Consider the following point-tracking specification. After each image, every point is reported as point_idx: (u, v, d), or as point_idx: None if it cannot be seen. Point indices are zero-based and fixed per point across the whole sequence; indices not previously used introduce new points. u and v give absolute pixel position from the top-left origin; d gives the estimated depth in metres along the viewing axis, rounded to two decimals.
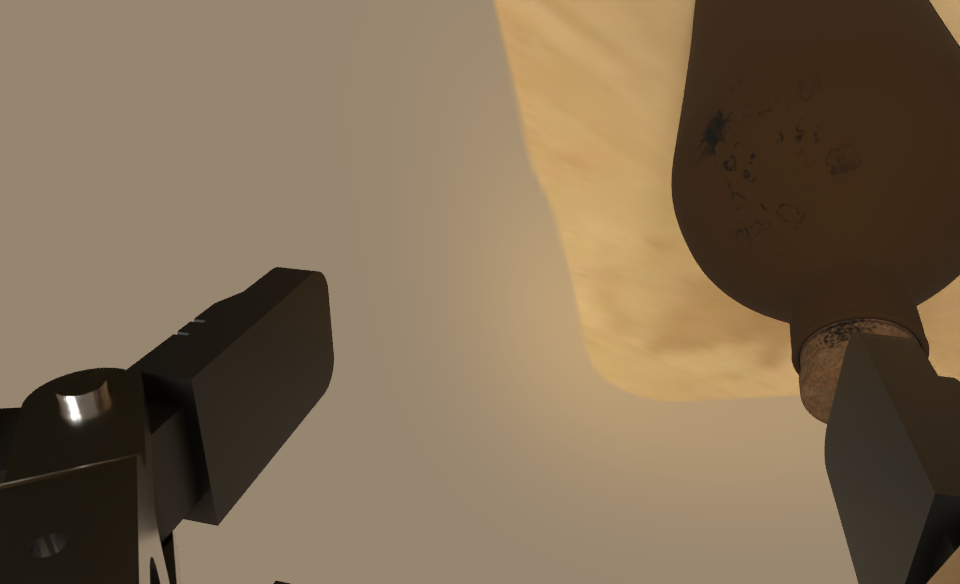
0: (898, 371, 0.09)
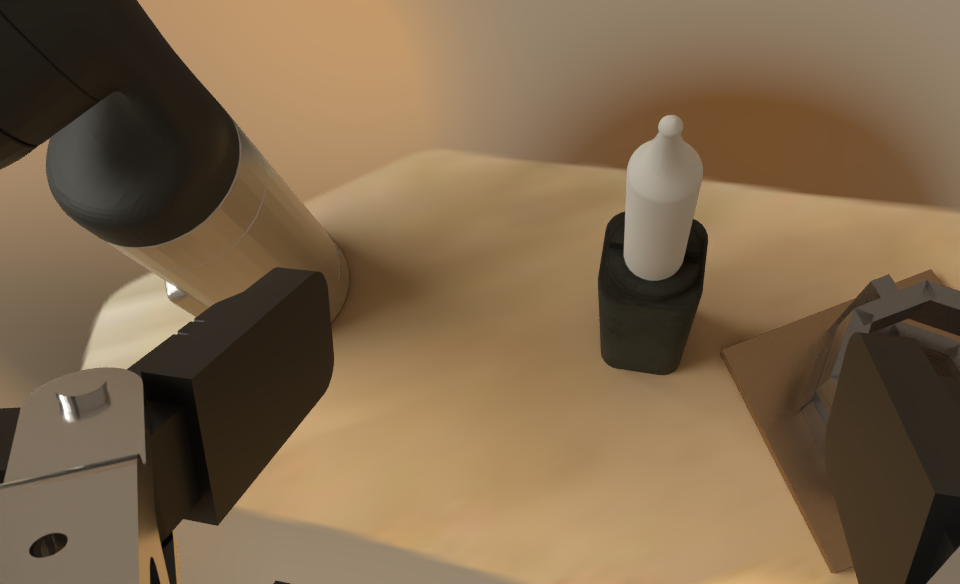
0: (899, 371, 0.09)
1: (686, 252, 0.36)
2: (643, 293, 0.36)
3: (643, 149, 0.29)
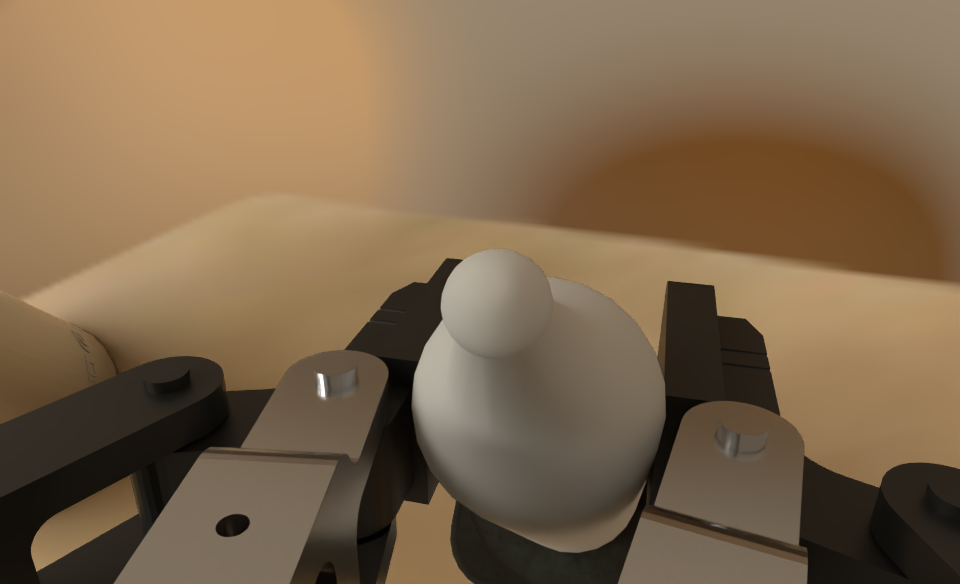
0: (685, 309, 0.10)
1: (645, 479, 0.16)
2: None
3: None
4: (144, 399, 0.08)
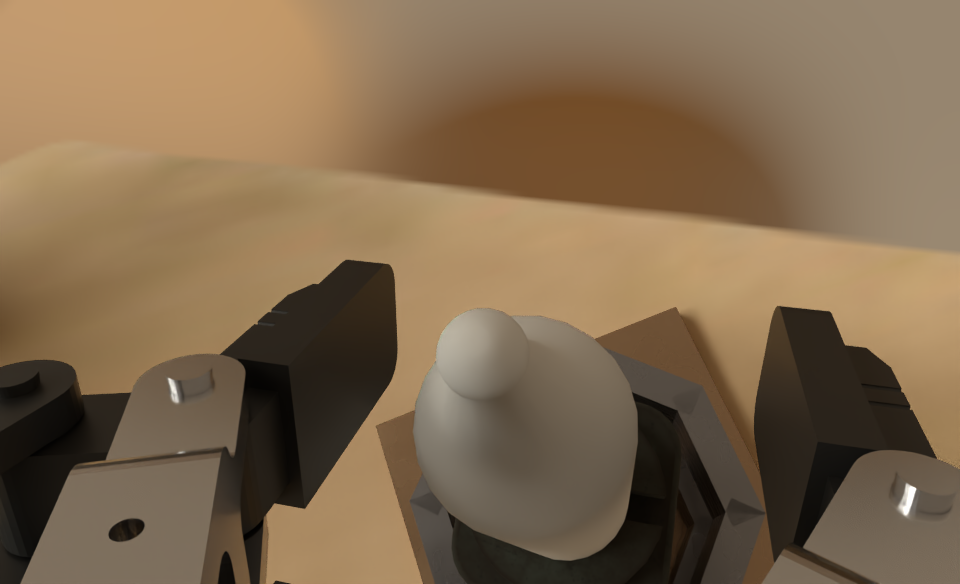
0: (808, 339, 0.10)
1: (634, 491, 0.17)
2: None
3: None
4: None
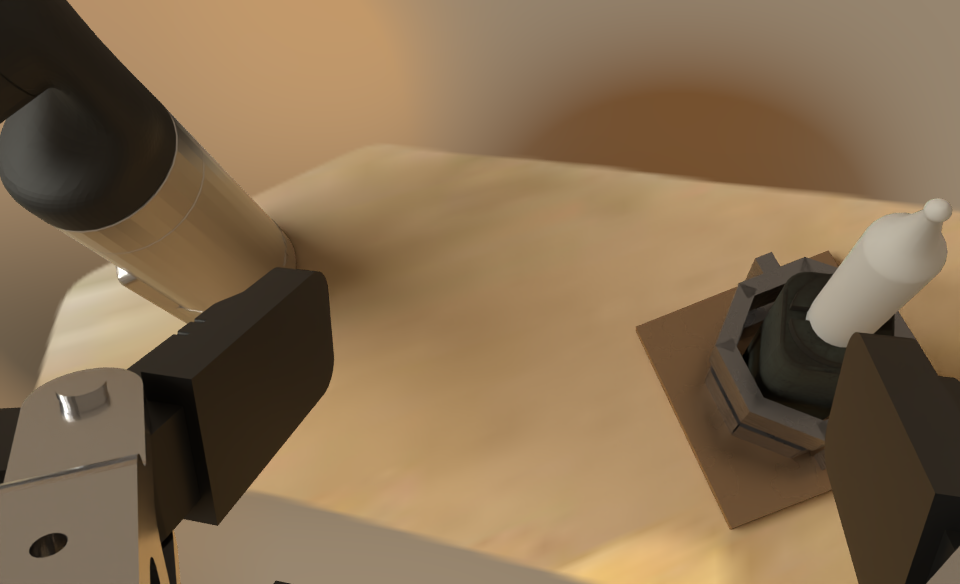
0: (899, 371, 0.09)
1: None
2: (835, 360, 0.34)
3: (885, 227, 0.27)
4: None
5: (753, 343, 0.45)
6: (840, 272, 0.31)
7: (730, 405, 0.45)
